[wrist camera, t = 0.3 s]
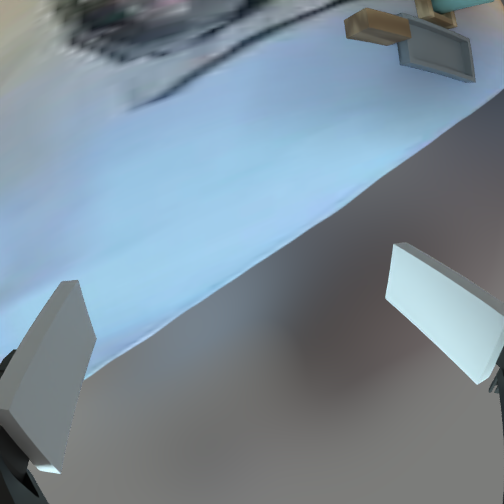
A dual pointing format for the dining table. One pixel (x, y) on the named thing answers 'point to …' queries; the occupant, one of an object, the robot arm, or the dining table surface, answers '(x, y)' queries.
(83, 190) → the dining table surface
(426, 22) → the tray
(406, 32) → the block
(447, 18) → the socket block
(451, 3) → the dowel
